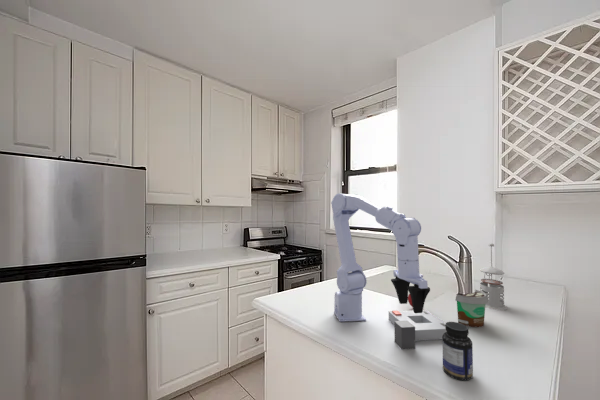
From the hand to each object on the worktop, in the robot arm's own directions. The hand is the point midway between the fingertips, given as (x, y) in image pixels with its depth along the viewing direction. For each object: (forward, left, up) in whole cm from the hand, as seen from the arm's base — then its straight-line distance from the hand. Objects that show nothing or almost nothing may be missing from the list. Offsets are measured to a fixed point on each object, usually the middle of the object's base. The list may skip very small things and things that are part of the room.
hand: (410, 307), depth 73 cm
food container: (+29, +10, -11) cm, 33 cm away
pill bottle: (+4, -13, -11) cm, 17 cm away
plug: (-2, 0, -11) cm, 11 cm away
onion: (+16, +24, -11) cm, 31 cm away
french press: (+50, +26, -11) cm, 58 cm away
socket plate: (+8, +9, -10) cm, 16 cm away
